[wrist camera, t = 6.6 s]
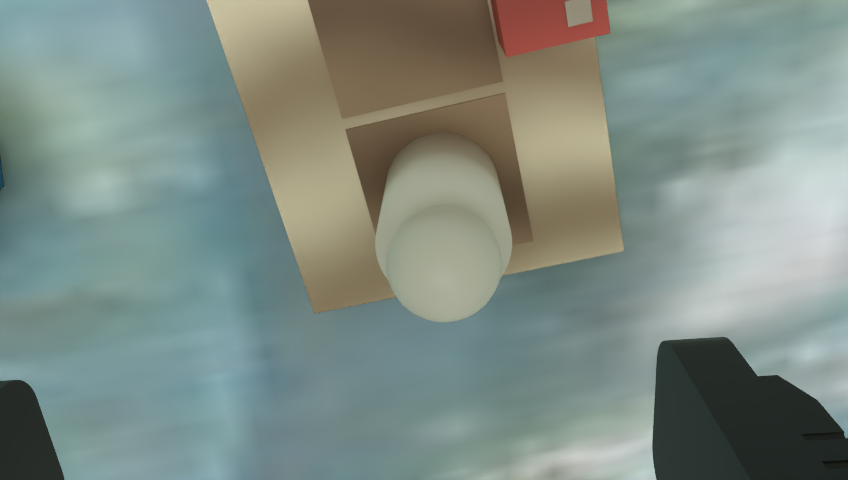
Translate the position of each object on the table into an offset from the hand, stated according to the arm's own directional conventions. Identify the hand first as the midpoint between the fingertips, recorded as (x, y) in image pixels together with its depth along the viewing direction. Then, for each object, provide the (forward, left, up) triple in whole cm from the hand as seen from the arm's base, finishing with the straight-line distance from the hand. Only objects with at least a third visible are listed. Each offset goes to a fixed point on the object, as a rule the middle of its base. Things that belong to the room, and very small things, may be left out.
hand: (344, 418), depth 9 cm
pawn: (-3, -1, -16) cm, 17 cm away
